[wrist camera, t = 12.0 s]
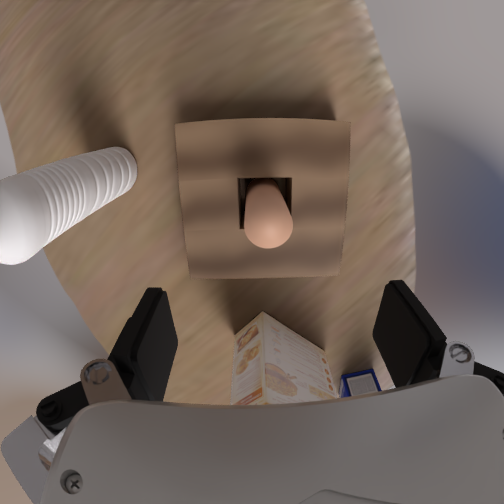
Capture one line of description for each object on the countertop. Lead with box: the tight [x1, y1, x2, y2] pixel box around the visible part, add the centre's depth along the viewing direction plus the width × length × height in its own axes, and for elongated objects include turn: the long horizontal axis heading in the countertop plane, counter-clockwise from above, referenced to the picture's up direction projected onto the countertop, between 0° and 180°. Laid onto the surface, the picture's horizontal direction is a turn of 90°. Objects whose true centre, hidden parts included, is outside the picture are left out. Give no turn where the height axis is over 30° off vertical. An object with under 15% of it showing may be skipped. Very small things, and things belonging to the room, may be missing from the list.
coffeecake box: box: [230, 311, 337, 405], centre depth 35 cm, size 15×7×20 cm, turn 50°
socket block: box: [175, 118, 350, 279], centre depth 31 cm, size 18×18×5 cm
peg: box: [244, 178, 293, 248], centre depth 28 cm, size 4×4×12 cm
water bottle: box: [0, 147, 137, 265], centre depth 21 cm, size 9×6×25 cm
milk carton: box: [339, 369, 382, 398], centre depth 40 cm, size 7×7×20 cm
